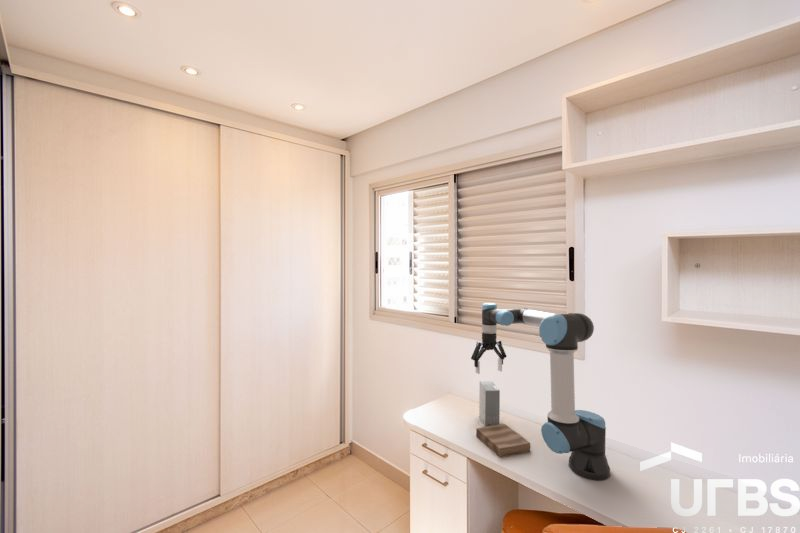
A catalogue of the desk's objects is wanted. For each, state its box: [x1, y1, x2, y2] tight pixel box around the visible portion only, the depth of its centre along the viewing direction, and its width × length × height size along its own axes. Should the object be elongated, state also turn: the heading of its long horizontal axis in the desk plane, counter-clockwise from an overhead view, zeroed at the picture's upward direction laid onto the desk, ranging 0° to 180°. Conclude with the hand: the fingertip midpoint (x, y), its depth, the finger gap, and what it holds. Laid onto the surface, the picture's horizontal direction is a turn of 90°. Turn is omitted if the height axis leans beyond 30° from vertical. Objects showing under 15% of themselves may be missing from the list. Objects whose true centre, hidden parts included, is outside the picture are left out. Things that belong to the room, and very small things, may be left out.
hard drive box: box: [478, 380, 501, 427], centre depth 189 cm, size 16×8×20 cm, turn 179°
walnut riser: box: [475, 423, 531, 458], centre depth 167 cm, size 20×16×4 cm
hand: (488, 371), depth 189 cm, fingers open, 13 cm apart
